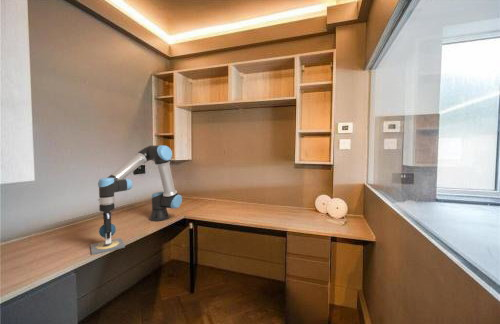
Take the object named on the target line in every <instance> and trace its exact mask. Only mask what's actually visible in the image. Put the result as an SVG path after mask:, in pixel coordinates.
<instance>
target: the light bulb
mask: <svg viewBox="0 0 500 324" xmlns="http://www.w3.org/2000/svg"><path fill="white" fill-rule="evenodd" d="M116 230H117V229H116V225H115V224H113V223H112V222H111V237H112V236H113V235H115V233H116V232H117V231H116ZM108 231H109V230H108ZM104 232H106V225H105V224H104V223H103V225H101V226H100V228H99V231H98V233H99V236H100V237H101V238H105V239H104V240H105V241H106V234H104Z"/></svg>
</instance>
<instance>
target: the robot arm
mask: <svg viewBox="0 0 500 324" xmlns="http://www.w3.org/2000/svg"><path fill="white" fill-rule="evenodd" d="M172 157H173V152H172V149H171V148H170V147H169V146H167V145H165V144H164V145H163V144H161V145H160V144H159V145H148V146H146V147H144V148H142V149H140V150H139V151H138V152H137V153H135V156H134V157H132V158H130V159H129V160H128V161H127V162H126V163H124V164H123V165H122V166H120V167H119V168H117V169H116V170H115V171H114V172H112V174H109V176H107V177H102V178H99V179H98V180H99V181H98V182H97V187H98V197H99V198H98V199H97V201H98V202H99V206H98V207H99V208H98V209H99V212H101V213H102V212H103V213H102V217H103V219H102V220H103V225H104V224H105V225H106V232H104V234H106V240H105V238H104V237H103V238H104V240H105V241H106V244H109V243H111V240H112V236H111V223H112V211H114V210H115V193H121V192H126V191H130V190H131V189H132V188H133V186H134V185H133V181H132V180H131V179H130V178H127V177H128V176H130V175H131V174H132V173H133V172H135V170H137V168H139V167H140V166H141V165H143V164H146V163H147V162H149V161H154V164H155V165H156V166H157V168H158V174H159V177H160V180H161V185H162V188H163V191H157V192H153V193H152V195H151V213H150V216H149V221H152V222H162V221H165V220H168V219H169V218H170V215H169V212H168V209H173V210H175V209H178V208H180V206H181V205H182V202H183V196H182V195H181V194H179V193H178V190H176V188H175V184H174V183H175V182H174V179H173V175H172V171H171V167H170V162H171V159H172ZM108 230H109V231H108Z"/></svg>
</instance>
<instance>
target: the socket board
mask: <svg viewBox="0 0 500 324" xmlns="http://www.w3.org/2000/svg"><path fill="white" fill-rule="evenodd" d="M123 248H126V245H125V243H124V241H123V239H122V238H121V237H120V238H115V239H111V243H109V244H106V240H105V241H100V242H95V243H91V244H90V250H91V256H94V255H97V254H102V253H107V252H112V251H115V250H120V249H123Z"/></svg>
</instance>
